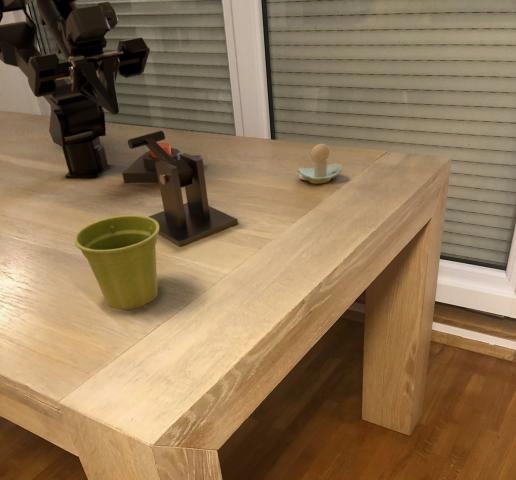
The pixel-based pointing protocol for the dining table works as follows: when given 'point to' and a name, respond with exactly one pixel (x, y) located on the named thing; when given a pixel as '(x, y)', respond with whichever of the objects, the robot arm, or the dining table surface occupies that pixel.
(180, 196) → the dark brown stand
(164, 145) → the button
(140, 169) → the block
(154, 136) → the dark t-shaped lever
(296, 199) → the dining table surface
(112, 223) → the plant pot
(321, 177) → the pacifier
